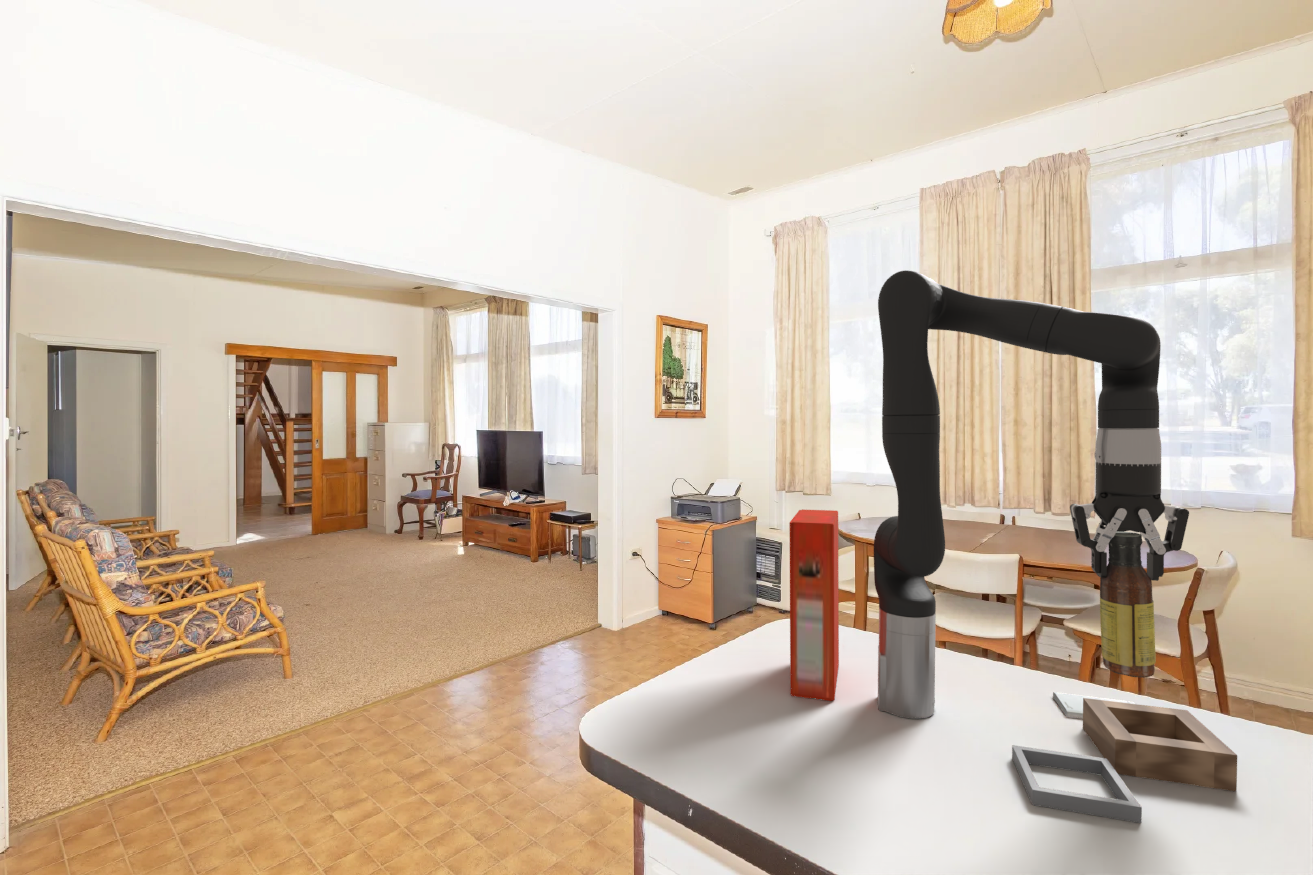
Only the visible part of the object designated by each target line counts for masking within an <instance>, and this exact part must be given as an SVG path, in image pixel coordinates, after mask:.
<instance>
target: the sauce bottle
mask: <svg viewBox="0 0 1313 875" xmlns="http://www.w3.org/2000/svg"><path fill="white" fill-rule="evenodd" d="M1142 545H1143V537H1142V535H1141V534H1140V533H1139V532H1134V531H1124V532H1117V531H1116V533H1115V535H1114V537H1113V538H1112V539H1111V540H1110V542H1109V543H1108V557H1107V563H1108V564H1107V577H1106V578H1103V577H1099V578H1100V579H1099V580H1100V582H1099V583H1100V584H1099V616H1100V617H1099V618H1100V637H1101V638H1100V639H1101V641H1100V644H1101V656H1102V665H1104V667H1105V668H1106V669H1107V670H1109V671H1110V672H1113V673H1115V674H1117V675H1122V676H1126V677H1131V678H1148V677H1153V676H1154V674H1155V669H1156V668H1155V667H1156V666H1155V665H1156V661H1157V658H1156V630H1155V629H1156V628H1155V607H1154V606H1155V604H1154V600H1153V585H1152V584H1153V583H1152V581H1153V580H1151V579H1150V577H1149V576H1148V574H1147V570H1145V567H1144V566H1143V565H1142V564H1143V561H1142V559H1141V558H1142V555H1141V554H1142V553H1141V552H1142V548H1141V547H1142Z"/></svg>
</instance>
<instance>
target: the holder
mask: <svg viewBox="0 0 1313 875" xmlns="http://www.w3.org/2000/svg"><path fill="white" fill-rule="evenodd" d="M1082 729H1083V731H1084V732H1085V734H1086V735H1087V737H1088V738H1089V740H1091V742H1092V743H1093V745H1094V746H1095V748H1096V749H1097V750H1098V752H1099V753H1100V754H1101V756H1102V758H1107V759H1108V761H1109V762H1110V764H1111V765H1112V766H1113V768H1114V769H1115V771H1116V772H1117V773H1118V775H1121V776H1122V775H1123V776H1128V777H1135V778H1136V777H1137V778H1142V779H1148V780H1156V781H1162V782H1163V781H1164V782H1170V783H1175V784H1184V785H1190V786H1196V787H1202V788H1203V787H1204V788H1209V789H1217V790H1223V791H1230V792H1235V793H1236V792H1237V791H1238V790H1237V787H1238V786H1237V785H1238V784H1237V781H1238V780H1237V778H1238V754H1237V753H1236V752H1234V751H1233V750H1232V749H1231V748H1230V747H1229V746H1228V745H1227V744H1225V743H1224V742H1223V741H1222V740H1221V739H1220V738H1219V737H1218V736H1216V735H1215V734H1214V732H1212V731H1211V730H1210V729H1209V728H1208V727H1206V725H1204V724H1203V723H1202V722H1201V721H1200V720H1199V719H1198V718H1196V717H1195V715H1193V714H1192V713H1191V712H1190V711H1189V710H1187V709H1180V708H1171V707H1164V706H1162V707H1161V706H1154V705H1145V704H1138V703H1136V704H1130V703H1122V702H1113V701H1105V700H1097V699H1088V698H1083V719H1082Z"/></svg>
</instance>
